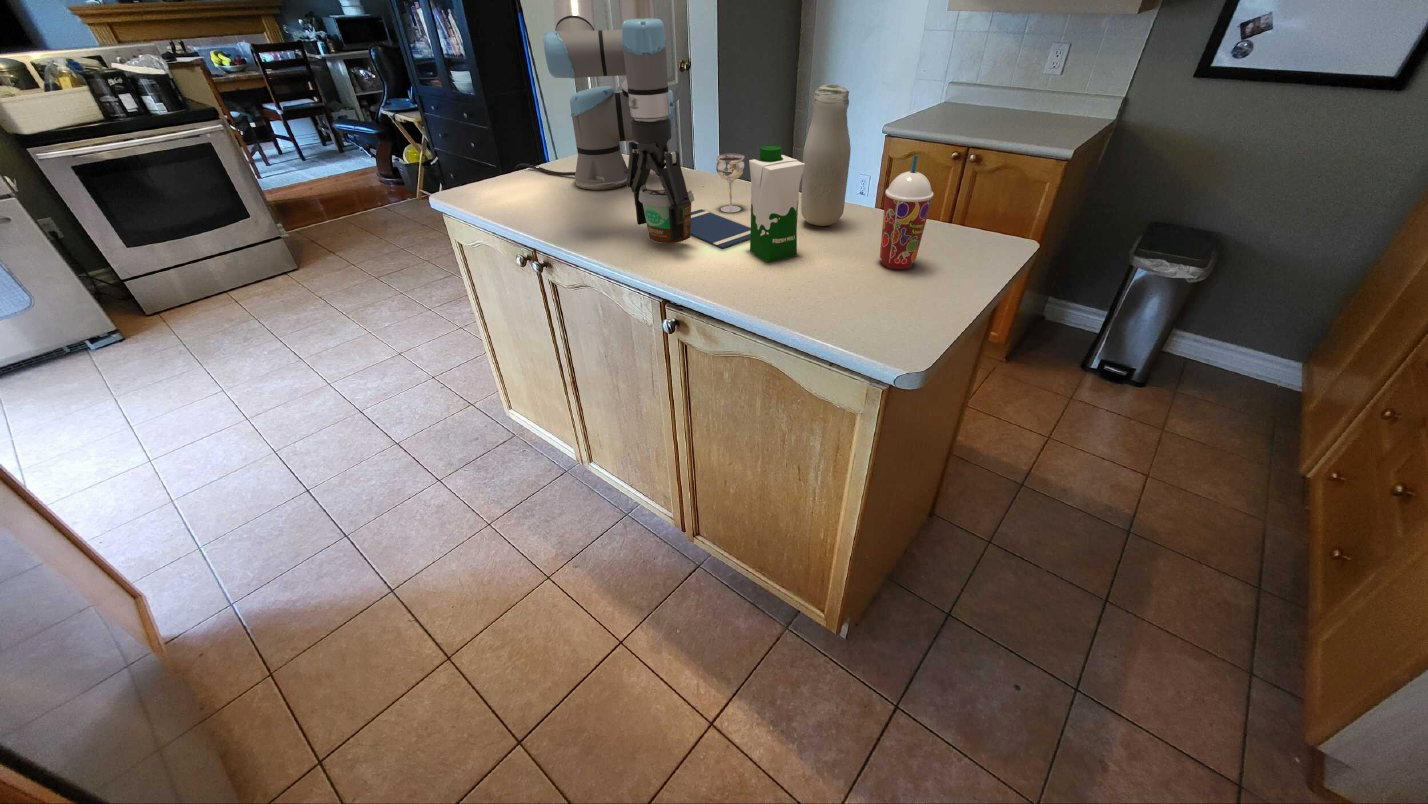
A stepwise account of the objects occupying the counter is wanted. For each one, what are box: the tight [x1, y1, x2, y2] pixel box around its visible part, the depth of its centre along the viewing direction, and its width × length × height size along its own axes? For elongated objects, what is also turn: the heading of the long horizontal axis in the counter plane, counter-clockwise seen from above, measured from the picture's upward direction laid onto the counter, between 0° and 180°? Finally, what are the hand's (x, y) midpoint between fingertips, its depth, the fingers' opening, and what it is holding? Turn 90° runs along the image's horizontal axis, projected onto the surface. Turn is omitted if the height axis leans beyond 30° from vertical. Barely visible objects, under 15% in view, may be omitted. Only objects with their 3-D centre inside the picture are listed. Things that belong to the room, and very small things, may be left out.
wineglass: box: [715, 153, 746, 213], centre depth 136 cm, size 7×7×12 cm
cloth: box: [690, 208, 751, 250], centre depth 129 cm, size 22×12×1 cm, turn 40°
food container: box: [639, 184, 695, 244], centre depth 117 cm, size 12×6×10 cm, turn 63°
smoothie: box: [879, 154, 934, 270], centre depth 105 cm, size 8×8×20 cm
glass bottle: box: [800, 84, 852, 227], centre depth 121 cm, size 10×10×28 cm
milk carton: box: [748, 144, 805, 264], centre depth 111 cm, size 9×9×20 cm
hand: (659, 230), depth 120 cm, fingers closed on food container, 12 cm apart
